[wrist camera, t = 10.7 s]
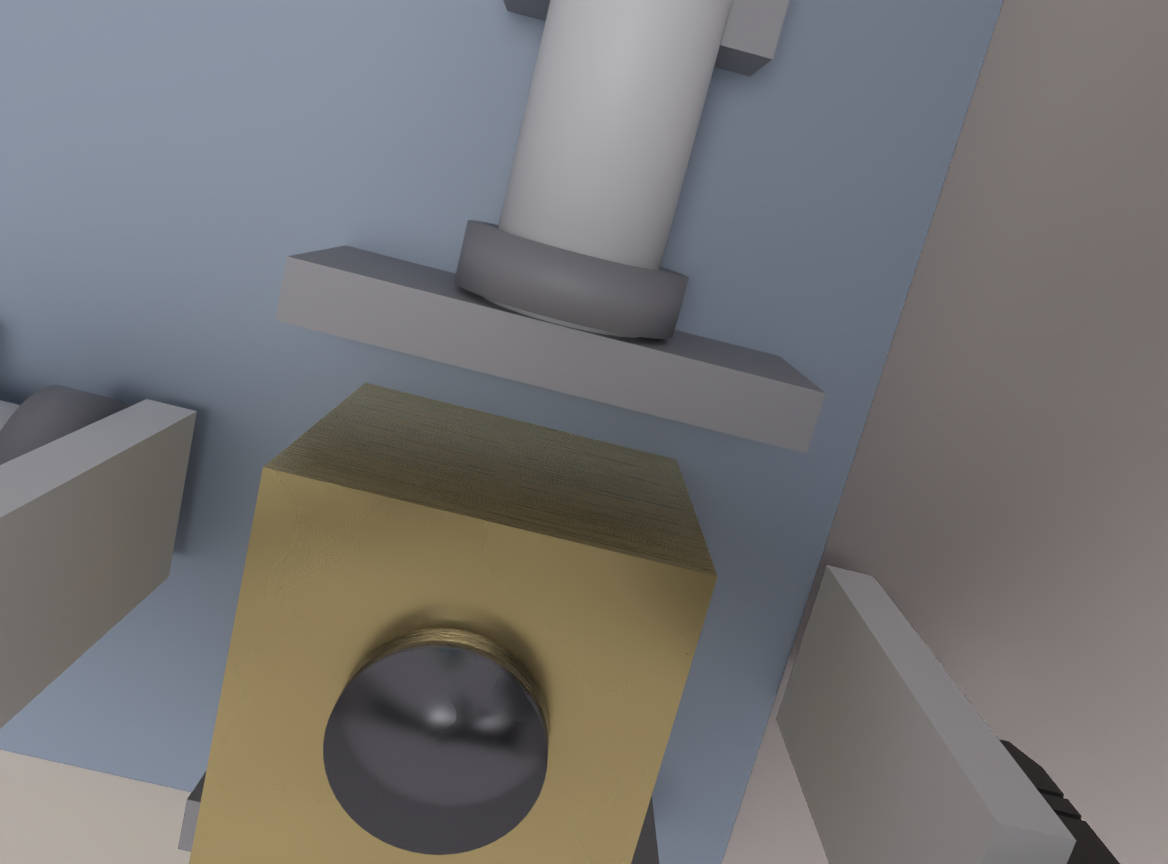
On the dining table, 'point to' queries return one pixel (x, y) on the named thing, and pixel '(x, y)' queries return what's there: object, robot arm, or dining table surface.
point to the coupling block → (452, 644)
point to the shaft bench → (469, 286)
